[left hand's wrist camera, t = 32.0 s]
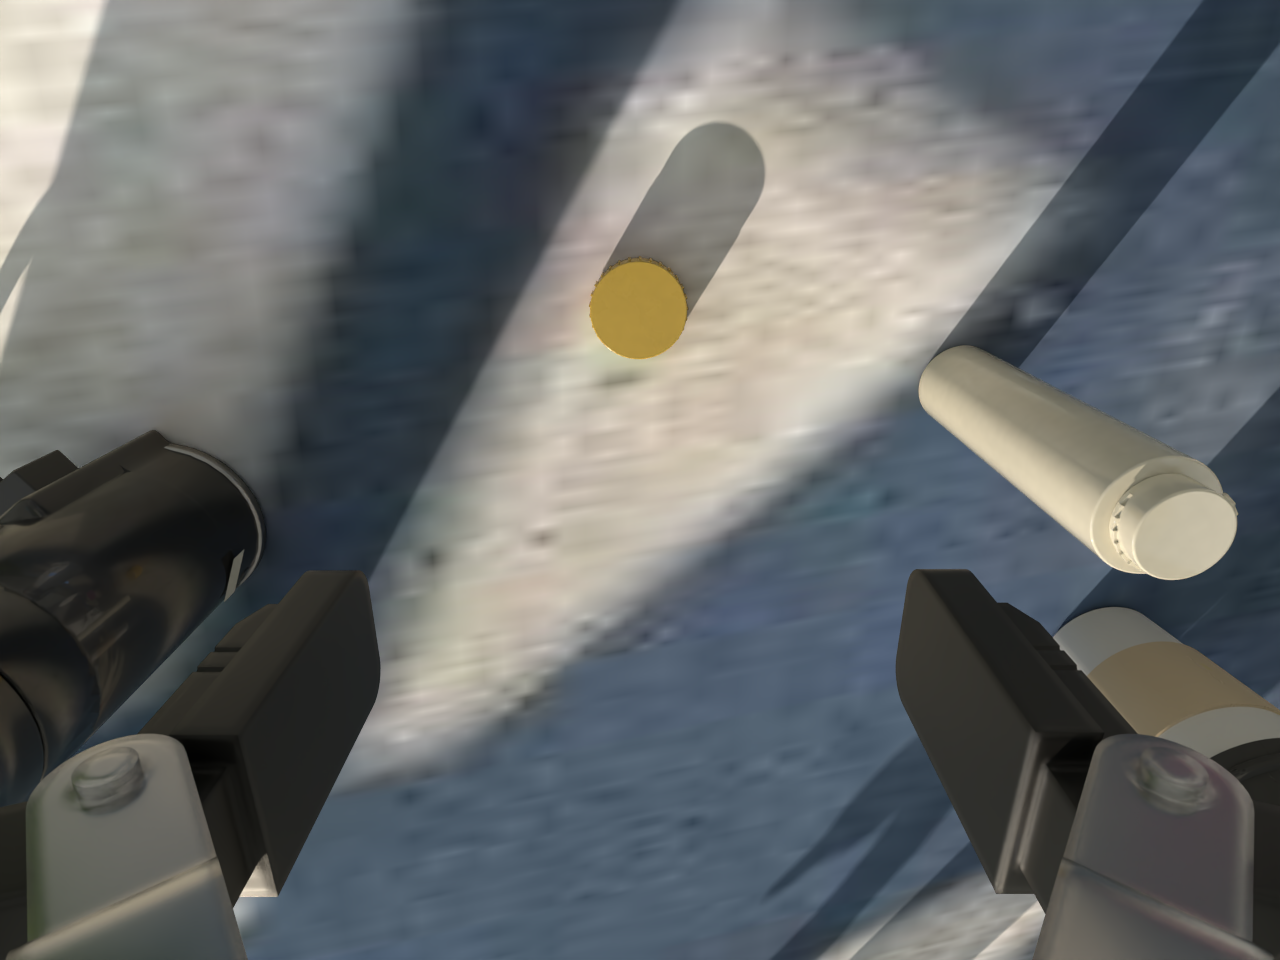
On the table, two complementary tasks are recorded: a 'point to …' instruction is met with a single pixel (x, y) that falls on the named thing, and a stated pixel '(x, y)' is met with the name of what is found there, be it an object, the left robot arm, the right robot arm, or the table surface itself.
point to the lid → (638, 308)
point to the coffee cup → (1178, 695)
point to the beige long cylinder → (1084, 466)
